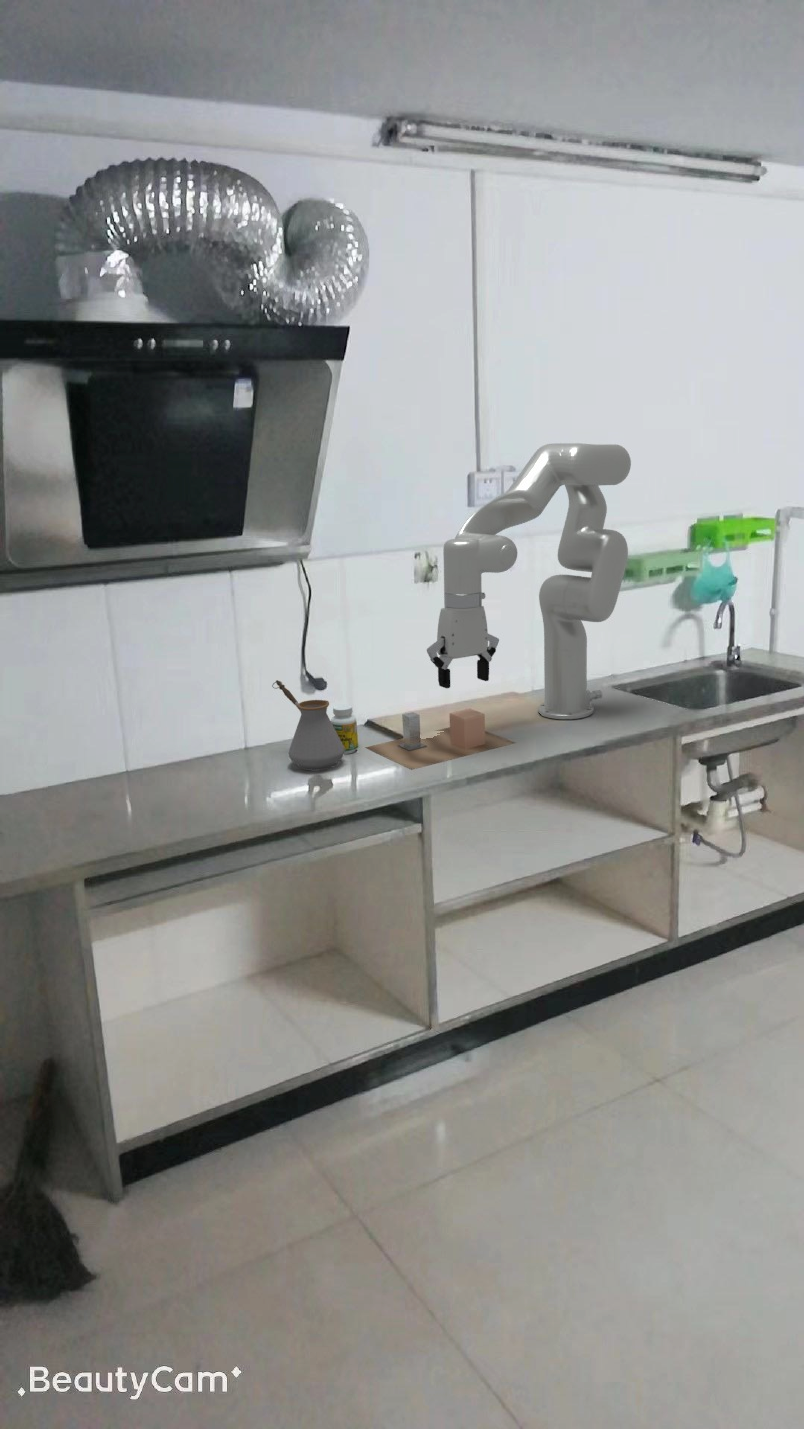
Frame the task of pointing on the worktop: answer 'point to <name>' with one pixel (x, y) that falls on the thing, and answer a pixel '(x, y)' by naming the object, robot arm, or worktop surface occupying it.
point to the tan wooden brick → (467, 728)
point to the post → (411, 732)
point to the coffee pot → (313, 735)
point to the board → (434, 750)
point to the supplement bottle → (345, 727)
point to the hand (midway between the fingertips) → (464, 683)
